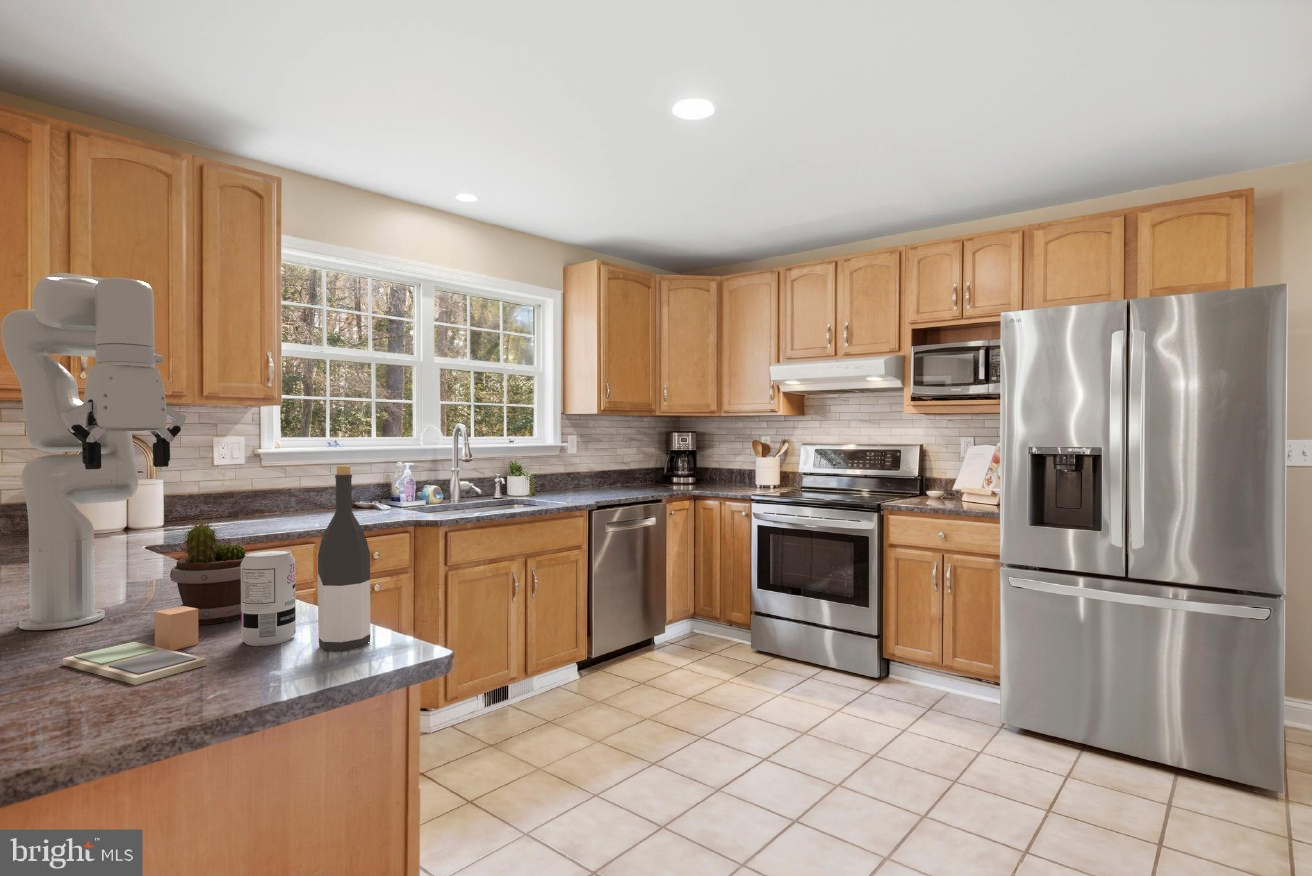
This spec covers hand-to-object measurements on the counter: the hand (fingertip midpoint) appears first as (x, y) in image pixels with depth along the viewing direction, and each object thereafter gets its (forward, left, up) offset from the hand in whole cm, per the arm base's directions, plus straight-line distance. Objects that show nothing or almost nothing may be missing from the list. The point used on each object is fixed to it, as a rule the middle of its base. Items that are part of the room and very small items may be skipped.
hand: (128, 467), depth 115 cm
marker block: (-2, +8, -30) cm, 31 cm away
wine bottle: (+23, +21, -30) cm, 44 cm away
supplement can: (+9, +17, -30) cm, 36 cm away
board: (+3, -1, -30) cm, 30 cm away
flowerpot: (-14, +22, -30) cm, 40 cm away
